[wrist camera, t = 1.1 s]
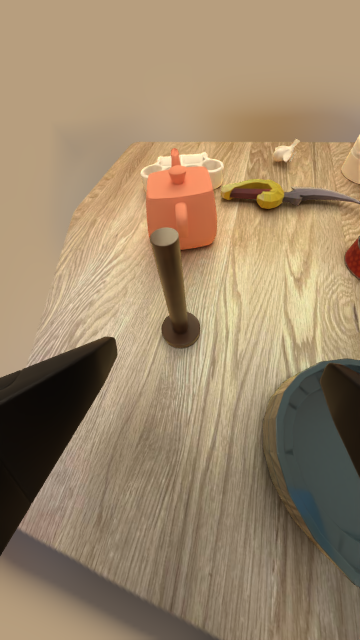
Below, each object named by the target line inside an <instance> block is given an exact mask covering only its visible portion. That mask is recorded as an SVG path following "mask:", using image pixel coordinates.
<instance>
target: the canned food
mask: <svg viewBox="0 0 360 640" xmlns="http://www.w3.org/2000/svg"><path fill="white" fill-rule="evenodd" d="M345 263H346V266H347V267H348V269H349V271H350V272H351V273H352V274H353V275H354V276H356V277H357V278H358V279H359V280H360V236H359V238H358V239H357V240H356V241H355V242H354V244H353V245H352V246H351V247H350V248H349V249H348V250H347V252H346V254H345Z"/></svg>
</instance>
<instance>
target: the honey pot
mask: <svg viewBox="0 0 360 640" xmlns="http://www.w3.org/2000/svg"><path fill="white" fill-rule="evenodd" d="M341 172H342V174H343V175H344V176H345V177H346V178H347V179H349V180H351V181H352V182H355V183H357V184H360V135H359V137H358V138H357V141H356V143H355V144H354V146H353V148H352V149H351V151H350V153H349V154H348V156H347V158H346V160H345V162H344V164H343V165H342V168H341Z"/></svg>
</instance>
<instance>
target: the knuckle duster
mask: <svg viewBox="0 0 360 640" xmlns="http://www.w3.org/2000/svg"><path fill="white" fill-rule="evenodd" d="M179 158H180V164H181V166H185V167H197V166H202V167H206V168H207V170H208V172H209V175H210V179H211V183H212V187H213V189H216V188H218V187H220V186H221V184H222V179H223V169H224V165H223V163H222V162H221V161H219V160H215V159H209V158H207V153H206V152H203V153H202V154H191V155H184V154H181V155H179ZM170 168H171V156H169V157H162V156H159V157H158V162H157V163H155V164H153V165H149V166H147V167H145V168H144V169H142V171H141V178H142V183H143V187H144V190H145V192H146V193H147V180H148V176H149V174H151V173H154V172H158V171H163V170H169V169H170Z"/></svg>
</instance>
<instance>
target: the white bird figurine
mask: <svg viewBox="0 0 360 640" xmlns="http://www.w3.org/2000/svg"><path fill="white" fill-rule="evenodd" d="M299 142H300V141H298V140H297V138H296V139H295V141H294V143H293V144H292V145H291V146H290V147H287V146H284V145H282V146H279V147H276V148H275V149H276V150H275V151H274V154H273V160H274V161H277V162H278V161H281V160H284V161H285V162H287V161H288V160H289V158H290V157H291V154H292V153H293V151H294V150H293V148H294V146H295V145H297V144H298V143H299ZM295 153H296V152H295ZM295 153H294V154H293V156H294V155H295ZM293 156H292V157H291V159H290V162H291V160H292V158H293Z"/></svg>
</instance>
